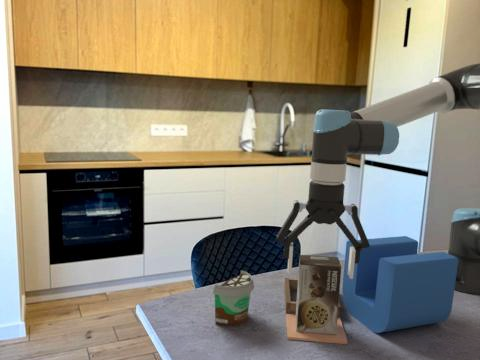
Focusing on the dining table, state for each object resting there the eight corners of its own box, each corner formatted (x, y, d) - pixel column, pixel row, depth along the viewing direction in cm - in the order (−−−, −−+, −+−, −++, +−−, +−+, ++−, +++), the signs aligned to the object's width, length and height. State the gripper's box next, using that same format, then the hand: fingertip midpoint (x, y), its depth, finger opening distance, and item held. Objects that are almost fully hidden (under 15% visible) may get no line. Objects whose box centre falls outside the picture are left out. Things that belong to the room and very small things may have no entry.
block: (340, 307, 118) (346, 239, 115) (396, 299, 124) (404, 235, 121) (386, 342, 101) (395, 265, 98) (448, 331, 108) (458, 258, 105)
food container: (234, 334, 101) (236, 292, 100) (211, 326, 104) (213, 285, 103) (261, 314, 112) (264, 275, 110) (240, 307, 115) (242, 269, 113)
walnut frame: (331, 291, 127) (332, 281, 127) (339, 318, 111) (340, 306, 111) (284, 287, 128) (284, 277, 127) (285, 314, 112) (286, 302, 112)
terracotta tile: (340, 320, 110) (340, 318, 110) (347, 344, 100) (347, 341, 100) (285, 316, 111) (286, 313, 111) (287, 339, 100) (287, 336, 100)
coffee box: (333, 321, 108) (339, 256, 105) (336, 335, 102) (342, 266, 99) (294, 318, 109) (299, 253, 106) (295, 332, 103) (300, 263, 100)
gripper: (381, 181, 102) (372, 272, 106) (269, 175, 104) (264, 264, 108) (390, 188, 95) (379, 284, 99) (269, 181, 97) (263, 276, 100)
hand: (319, 274), depth 103 cm, fingers open, 13 cm apart
